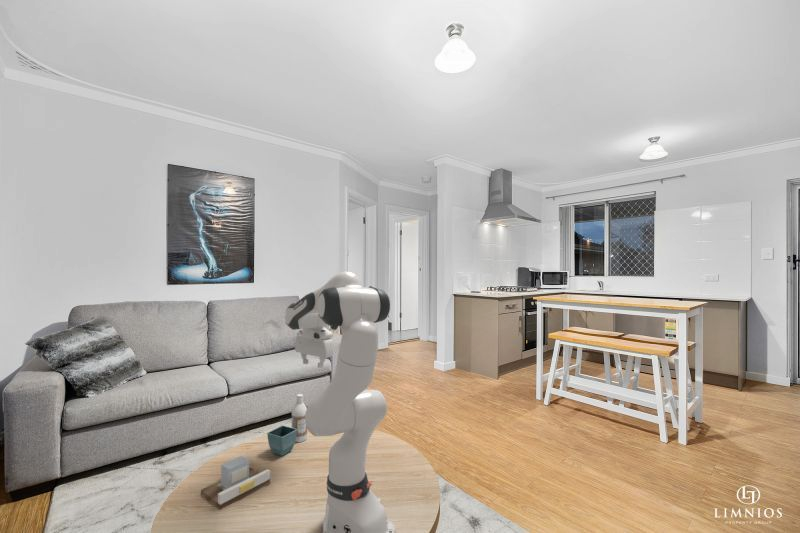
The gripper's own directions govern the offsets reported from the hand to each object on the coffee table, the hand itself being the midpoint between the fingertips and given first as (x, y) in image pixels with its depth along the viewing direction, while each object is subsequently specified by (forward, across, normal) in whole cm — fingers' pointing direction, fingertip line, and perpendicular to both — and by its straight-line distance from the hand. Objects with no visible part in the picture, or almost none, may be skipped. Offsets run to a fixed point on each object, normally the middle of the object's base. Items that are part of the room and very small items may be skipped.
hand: (312, 365), depth 149 cm
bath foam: (+37, -16, +6) cm, 41 cm away
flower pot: (+37, -12, -6) cm, 40 cm away
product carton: (+35, -4, -31) cm, 47 cm away
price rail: (+36, +3, -31) cm, 47 cm away
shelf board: (+37, -3, -31) cm, 48 cm away
